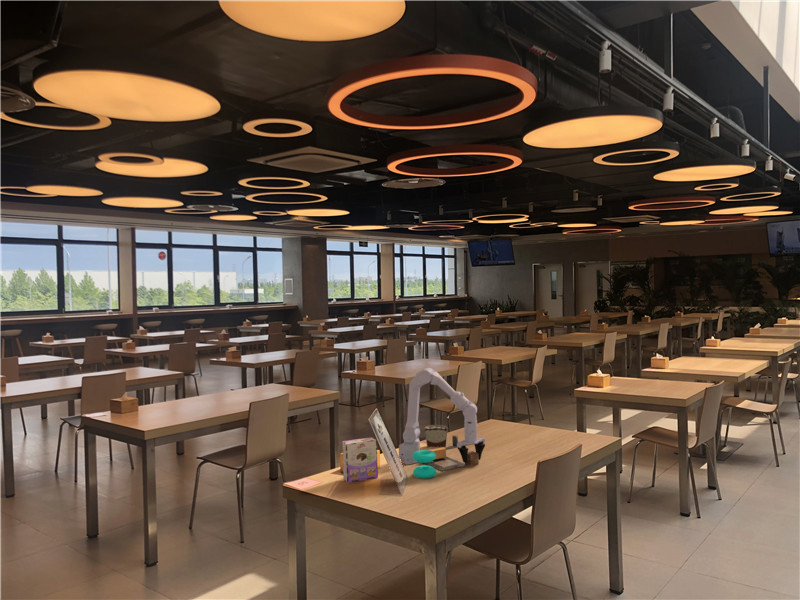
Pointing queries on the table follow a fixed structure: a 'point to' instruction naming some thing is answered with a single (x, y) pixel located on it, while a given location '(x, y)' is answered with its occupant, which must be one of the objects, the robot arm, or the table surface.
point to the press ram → (442, 451)
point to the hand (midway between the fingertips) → (471, 460)
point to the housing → (472, 458)
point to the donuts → (424, 470)
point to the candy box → (360, 459)
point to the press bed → (445, 464)
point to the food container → (436, 435)
